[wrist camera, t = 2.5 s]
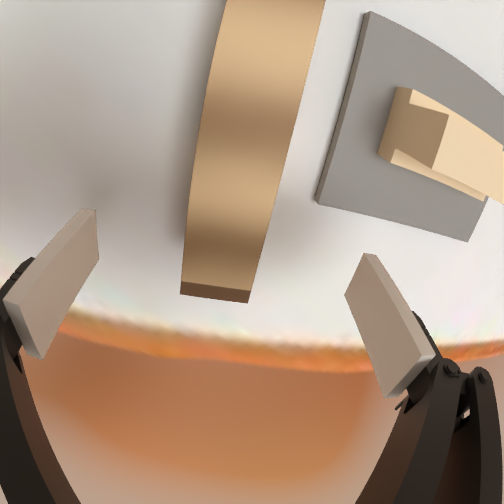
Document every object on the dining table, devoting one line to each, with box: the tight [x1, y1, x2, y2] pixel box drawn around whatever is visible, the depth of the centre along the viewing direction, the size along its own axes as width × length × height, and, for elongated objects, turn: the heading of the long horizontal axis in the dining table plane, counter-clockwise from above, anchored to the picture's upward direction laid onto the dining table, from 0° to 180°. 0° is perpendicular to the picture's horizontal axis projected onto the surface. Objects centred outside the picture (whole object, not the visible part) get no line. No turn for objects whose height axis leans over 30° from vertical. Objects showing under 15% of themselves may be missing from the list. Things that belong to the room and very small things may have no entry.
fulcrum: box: [315, 11, 504, 242], centre depth 15 cm, size 14×16×7 cm
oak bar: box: [180, 0, 326, 303], centre depth 14 cm, size 20×4×6 cm, turn 168°
